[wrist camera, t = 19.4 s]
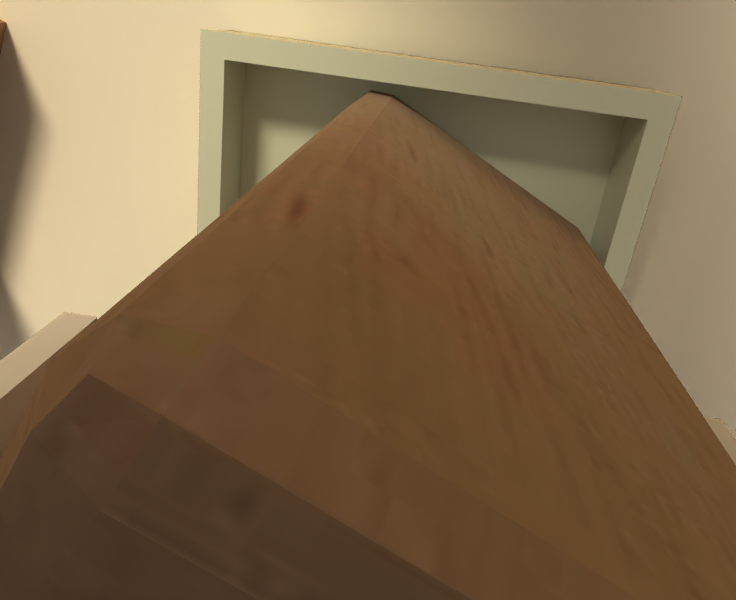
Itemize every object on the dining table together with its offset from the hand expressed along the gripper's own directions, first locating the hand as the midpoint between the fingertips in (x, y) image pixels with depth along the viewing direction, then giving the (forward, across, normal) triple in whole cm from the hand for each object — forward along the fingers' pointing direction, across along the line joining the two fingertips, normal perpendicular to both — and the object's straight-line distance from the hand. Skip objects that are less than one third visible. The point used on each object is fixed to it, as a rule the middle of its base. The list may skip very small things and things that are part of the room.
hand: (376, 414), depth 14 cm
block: (+11, 0, 0) cm, 11 cm away
